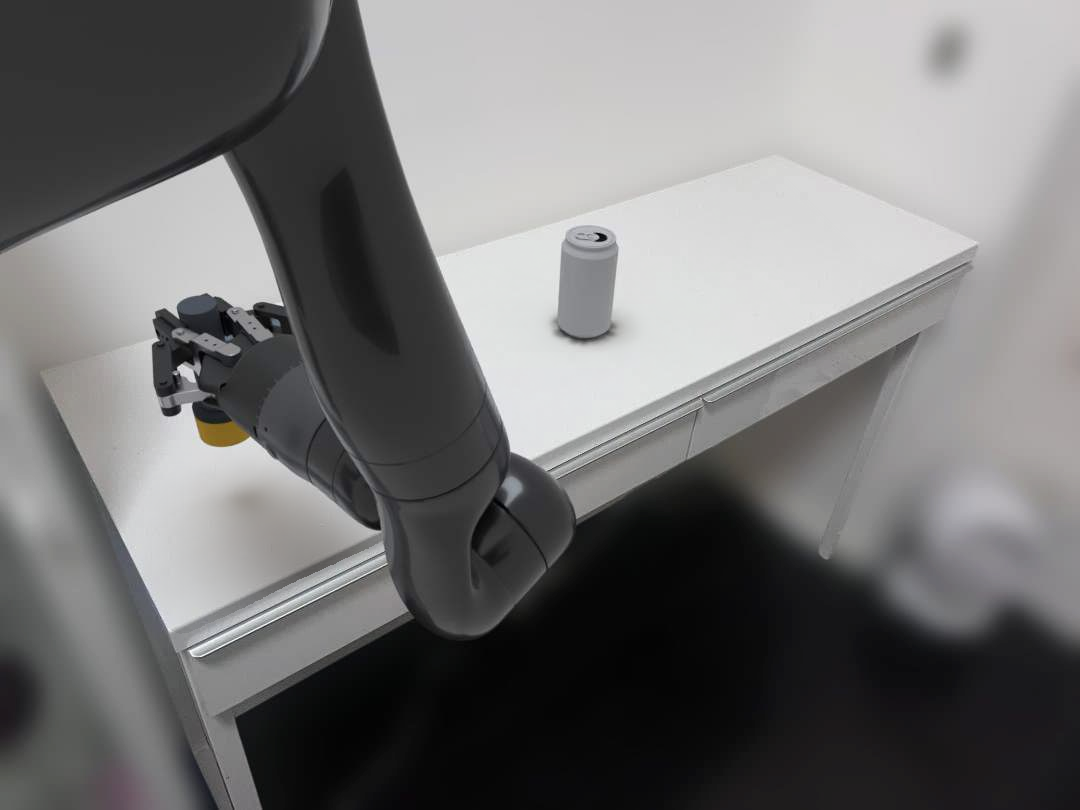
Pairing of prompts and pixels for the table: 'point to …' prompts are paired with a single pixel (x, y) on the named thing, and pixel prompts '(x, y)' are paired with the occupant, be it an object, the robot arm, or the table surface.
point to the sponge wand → (210, 421)
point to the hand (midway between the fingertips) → (182, 312)
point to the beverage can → (587, 281)
